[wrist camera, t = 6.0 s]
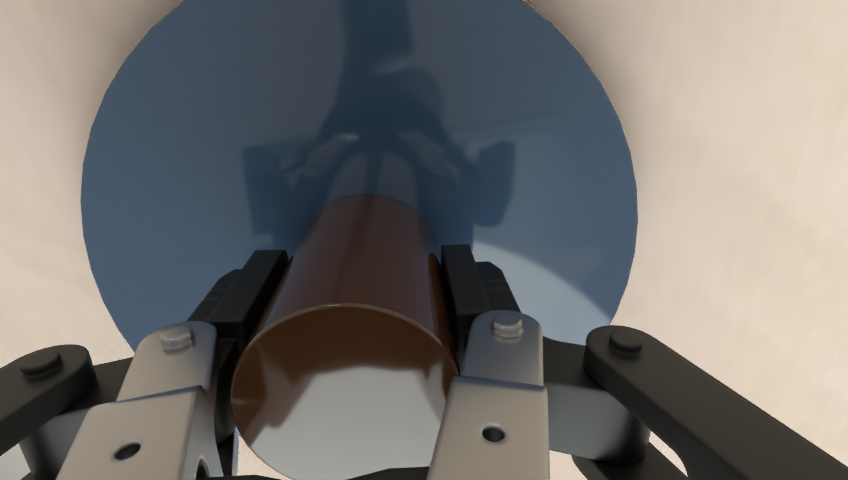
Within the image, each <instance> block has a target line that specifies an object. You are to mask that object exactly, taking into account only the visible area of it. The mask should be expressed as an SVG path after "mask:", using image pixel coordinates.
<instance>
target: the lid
mask: <svg viewBox="0 0 848 480" xmlns="http://www.w3.org/2000/svg"><path fill="white" fill-rule="evenodd" d="M81 212H82V224H83V236H84V241H85V245H86V249H87V254H88V258H89V262H90V267H91V271H92V273H93V276H94V278H95V281H96V284H97V286H98V289H99V292H100V294H101V297H102V300H103V302H104V304H105V306H106V308H107V309H108V311H109V313H110V315H111V317H112V319H113V321H114V322H115V324H116V326H117V328H118V330H119V331H120V333H121V334H122V336H123V337H124V338H125V340H126V341H127V343H128V344H129V345H130V347H131V348H132V350H133V351H134V352H136V349H137V347H138V345H139V343H140V342H141V341H142V340H143V339H144V338H145V337H146V336H148V335H149V334H151V333H152V332H154V331H156V330H158V329H160V328H162V327H165V326H168V325H171V324H174V323H179V322H185V321H187V319H188V318H189V317H190V316H191V314H192V313H193V312H194V310H195V309H196V308H197V306H198V305H199V304H200V303H201V301H202V300H204V297H205V296H206V295H207V294H208V292H209V291H211V288H212V287H213V286H214V285H215V283H216V282H217V281H218V279H219V278H221V277H222V276H224V275H226V274H227V273H229V272H231V271H232V270H234V269H242V268H243V267H244V265H245V264H246V263H247V261H248V260H249V258H250V257H251V255H252V254H253V253H254V251H256V250H281V249H285V250H286V252H287V254H288V258H289V261H288V263H287V265H286V267H285V269H284V271H283V273H282V275H281V277H280V279H279V281H278V283H277V285H276V287H275V289H274V291H273V293H272V294H271V296H270V298H269V300H268V302H267V304H266V306H265V308H264V310H263V312H262V314H261V316H260V318H259V320H258V322H257V324H256V325H255V327H254V329H253V331H252V333H251V335H250V337H249V339H248V341H247V343H246V345H245V347H244V349H243V351H242V353H241V355H240V357H239V358H238V361H237V363H236V366H235V368H234V371H233V374H232V378H231V383H230V405H231V412H232V415H233V419H234V422H235V425H236V429H237V434H238V436H241V437H242V438H243V440H244V441H245V443H246V444H247V446H248V447H249V448H250V449H251V450H252V451H253V453H254V454H255V455H256V456H257V457H258V458H260V459H261V460H262V461H263V462H264V463H265V464H267V465H268V466H270V467H271V468H272V469H274V470H275V471H277V472H279V473H281V474H282V475H284V476H286V477H288V478H290V479H293V480H347V479H351V478H355V477H358V476H362V475H366V474H370V473H373V472H377V471H381V470H385V469H388V468H408V467H427V466H429V465H430V463H431V460H432V456H433V452H434V448H435V444H436V440H437V436H438V432H439V428H440V424H441V420H442V416H443V413H444V409H445V405H446V401H447V397H448V393H449V389H450V385H451V381H452V378H453V376H454V375H455V374H456V375H460V372H461V369H460V364H459V358H458V353H457V348H456V343H455V338H454V333H453V328H452V322H451V317H450V312H449V307H448V301H447V296H446V291H445V286H444V280H443V275H442V270H441V245H457V244H469V245H470V248H471V251H472V254H473V257H474V259H475V262H486V261H490V262H491V263H493V264H494V265H496V266H497V267H498V268H500V269H501V270H502V272H503V274H504V276H505V278H506V282H507V283H508V285H509V287H510V290H511V291H512V293H513V296H514V298H515V300H516V302H517V304H518V306H519V309H520V311H521V313H524V314H526V315H528V316H530V317H532V318H534V319H535V320H536V321H537V322H538V323H539V324H540V325H541V327H542V331H543V336H544V337H547V338H549V339H553V340H556V341H561V342H566V343H573V344H579V345H585V344H586V338H587V335H588V333H589V332H590V331H591V330H593V329H595V328H598V327H602V326H609V325H610V323H611V321H612V320H613V318H614V316H615V314H616V312H617V309H618V307H619V304H620V301H621V299H622V296H623V294H624V291H625V288H626V286H627V283H628V278H629V274H630V270H631V266H632V262H633V257H634V253H635V244H636V234H637V223H638V213H637V188H636V181H635V176H634V171H633V165H632V160H631V154H630V150H629V147H628V144H627V141H626V138H625V135H624V133H623V130H622V127H621V124H620V121H619V118H618V116H617V114H616V112H615V110H614V108H613V106H612V104H611V102H610V100H609V98H608V96H607V94H606V92H605V90H604V88H603V86H602V84H601V83H600V81H599V80H598V79H597V77H596V76H595V74H594V73H593V72H592V70H591V69H590V67H589V66H588V65H587V63H586V62H585V60H584V59H583V57H582V56H581V55H580V53H579V52H578V51H577V50H576V49H575V48H574V47H573V46H572V45H571V44H570V43H569V41H568V40H567V39H566V38H565V37H564V36H563V35H562V34H561V33H560V32H559V31H558V30H557V29H556V28H555V27H554V26H553V25H552V24H551V23H550V22H549V21H548V20H546V19H545V18H544V17H542V16H541V15H540V14H539V13H537V12H536V11H535V10H533V9H532V8H531V7H530V6H528V5H527V4H526V3H524V2H523V1H522V0H184V1H183V2H182V3H180V4H179V5H178V6H177V7H176V8H175V9H173V10H172V11H171V12H170V13H169V14H168V15H166V16H165V17H164V18H163V19H162V20H160V21H159V22H158V23H157V24H156V25H155V26H153V27H152V28H151V30H150V31H149V32H148V33H147V34H146V36H145V37H144V38H143V39H142V40H141V41H140V43H139V44H138V45H137V46H136V47H135V49H134V50H133V51H132V52H131V53H130V54H129V56H128V57H127V58H126V59H125V61H124V63H123V64H122V66H121V68H120V69H119V71H118V73H117V74H116V76H115V78H114V79H113V81H112V83H111V84H110V86H109V88H108V89H107V91H106V93H105V95H104V98H103V100H102V103H101V105H100V108H99V110H98V113H97V115H96V118H95V120H94V123H93V125H92V128H91V132H90V136H89V141H88V145H87V149H86V154H85V158H84V163H83V173H82V187H81Z"/></svg>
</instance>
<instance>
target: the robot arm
mask: <svg viewBox="0 0 848 480" xmlns="http://www.w3.org/2000/svg"><path fill="white" fill-rule="evenodd" d="M288 261H289V258H288V254H287V252H286V250H285V249H281V250H256V251H254V253H253V254H252V255H251V257H250V258H249V260H248V261H247V263H246V264H245V265H244V267H243V268H242V269H234V270H232V271H231V272H229V273H227V274H226V275H224V276H222V277H221V278H219V279H218V281H217V282H216V283H215V285H214V286H213V287H212V288H211V291H209V292H208V294H207V295H206V296H205V297H204V300H202V301H201V303H200V304H199V305H198V306H197V308H196V309H195V310H194V312H193V313H192V314H191V316H190V317H189V318H188V319H187V321H185V322H179V323H174V324H171V325H168V326H165V327H162V328H160V329H158V330H156V331H154V332H152V333H151V334H149V335H148V336H146V337H145V338H144V339H143V340H142V341H141V342H140V343H139V345H138V347H137V349H136V352H135V354H134V357H131V358H127V359H123V360H118V361H113V362H109V363H104V364H99V365H95V366H93V364H92V361H91V358H90V355H89V352H88V350H87V349H86V348H85V347H83V346H79V345H58V346H53V347H48V348H44V349H41V350H38V351H35V352H32V353H29V354H27V355H25V356H22V357H20V358H18V359H16V360H15V361H13V362H11V363H9V364H7V365H6V366H4V367H2V368H0V456H1V455H2V454H4V453H5V452H7V451H8V450H9V449H11V448H12V447H13V446H15V445H16V444H18V443H19V445H20V447H21V450H22V452H23V454H24V457H25V459H26V461H27V464H28V466H29V468H30V471H31V472H30V473H28V474H27V475H26V476H25V477H23V478H22V479H21V480H280V479H275V478H269V477H264V476H258V475H244V476H237V465H238V444H239V440H238V434H237V429H236V425H235V422H234V419H233V415H232V412H231V405H230V383H231V378H232V374H233V371H234V368H235V366H236V363H237V361H238V358H239V357H240V355H241V353H242V351H243V349H244V347H245V345H246V343H247V341H248V339H249V337H250V335H251V333H252V331H253V329H254V327H255V325H256V324H257V322H258V320H259V318H260V316H261V314H262V312H263V310H264V308H265V306H266V304H267V302H268V300H269V298H270V296H271V294H272V293H273V291H274V289H275V287H276V285H277V283H278V281H279V279H280V277H281V275H282V273H283V271H284V269H285V267H286V265H287V263H288ZM441 270H442V275H443V280H444V286H445V291H446V296H447V301H448V307H449V312H450V317H451V322H452V328H453V333H454V338H455V343H456V348H457V353H458V358H459V364H460V369H461V372H460V375H456V374H455V375H454V376H453V378H452V381H451V385H450V389H449V393H448V397H447V401H446V405H445V409H444V413H443V416H442V420H441V424H440V428H439V432H438V436H437V440H436V444H435V448H434V452H433V456H432V460H431V463H430V466H429V467H408V468H388V469H385V470H381V471H377V472H373V473H370V474H366V475H362V476H358V477H355V478H351V479H347V480H550V459H549V450H552V451H557V452H561V453H566V454H570V455H572V459H573V461H574V463H575V465H576V466H577V467H578V469H579V470H580V471H581V472H582V474H583V475H584V476H585V477H586V478H587V479H588V480H848V467H847V466H846V465H844V464H843V463H841V462H840V461H838V460H837V459H835V458H834V457H832V456H831V455H829V454H828V453H826V452H825V451H823V450H822V449H820V448H819V447H817V446H816V445H814V444H813V443H811V442H810V441H808V440H807V439H805V438H804V437H802V436H801V435H799V434H798V433H796V432H795V431H793V430H792V429H790V428H789V427H787V426H786V425H784V424H783V423H781V422H780V421H778V420H777V419H775V418H774V417H772V416H771V415H769V414H768V413H766V412H765V411H763V410H762V409H760V408H759V407H757V406H756V405H754V404H753V403H751V402H750V401H748V400H747V399H745V398H744V397H742V396H741V395H739V394H738V393H736V392H735V391H733V390H732V389H730V388H729V387H727V386H726V385H724V384H723V383H721V382H720V381H718V380H717V379H715V378H714V377H712V376H711V375H709V374H708V373H706V372H705V371H703V370H702V369H700V368H699V367H697V366H696V365H694V364H693V363H691V362H690V361H688V360H687V359H685V358H684V357H682V356H681V355H679V354H678V353H677V352H675V351H674V350H672V349H671V348H669V347H668V346H666V345H665V344H663V343H662V342H660V341H659V340H657V339H656V338H654V337H652V336H651V335H649V334H647V333H645V332H643V331H640V330H637V329H634V328H630V327H625V326H615V325H610V326H602V327H598V328H595V329H593V330H591V331H590V332H589V333H588V335H587V338H586V344H585V345H579V344H573V343H566V342H561V341H556V340H553V339H549V338H547V337H544V336H543V331H542V327H541V325H540V324H539V323H538V322H537V321H536V320H535V319H534V318H532V317H530V316H528V315H526V314H524V313H521V311H520V309H519V306H518V304H517V302H516V300H515V298H514V296H513V293H512V291H511V290H510V287H509V285H508V283H507V282H506V278H505V276H504V274H503V272H502V270H501V269H500V268H498V267H497V266H496V265H494V264H493V263H491V262H490V261H486V262H475V259H474V257H473V254H472V251H471V248H470V245H469V244H457V245H441ZM651 431H652V432H653V433H654V434H656V435H657V436H658V437H659V438H660V439H661V440H662V441H663V442H665V443H666V444H667V445H668V446H669V447H670V448H671V449H672V450H673V451H674V452H675V453H676V454H677V455H678V456H679V458H680V459H681V461H682V462H683V464H684V466H685V469H686V471H687V475H688V477H687V476H686V475H685V474H684V473H683V472H681V471H680V470H679V469H678V468H677V467H676V466H675V465H674V464H673V463H672V462H671V461H669V460H668V459H667V458H666V457H665V456H664V455H663V454H662V453H661V452H660V451H659V450H658V449H656V448H655V447H654V446H653V445H652V444H651V443H650V442H649V437H650V432H651Z"/></svg>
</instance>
